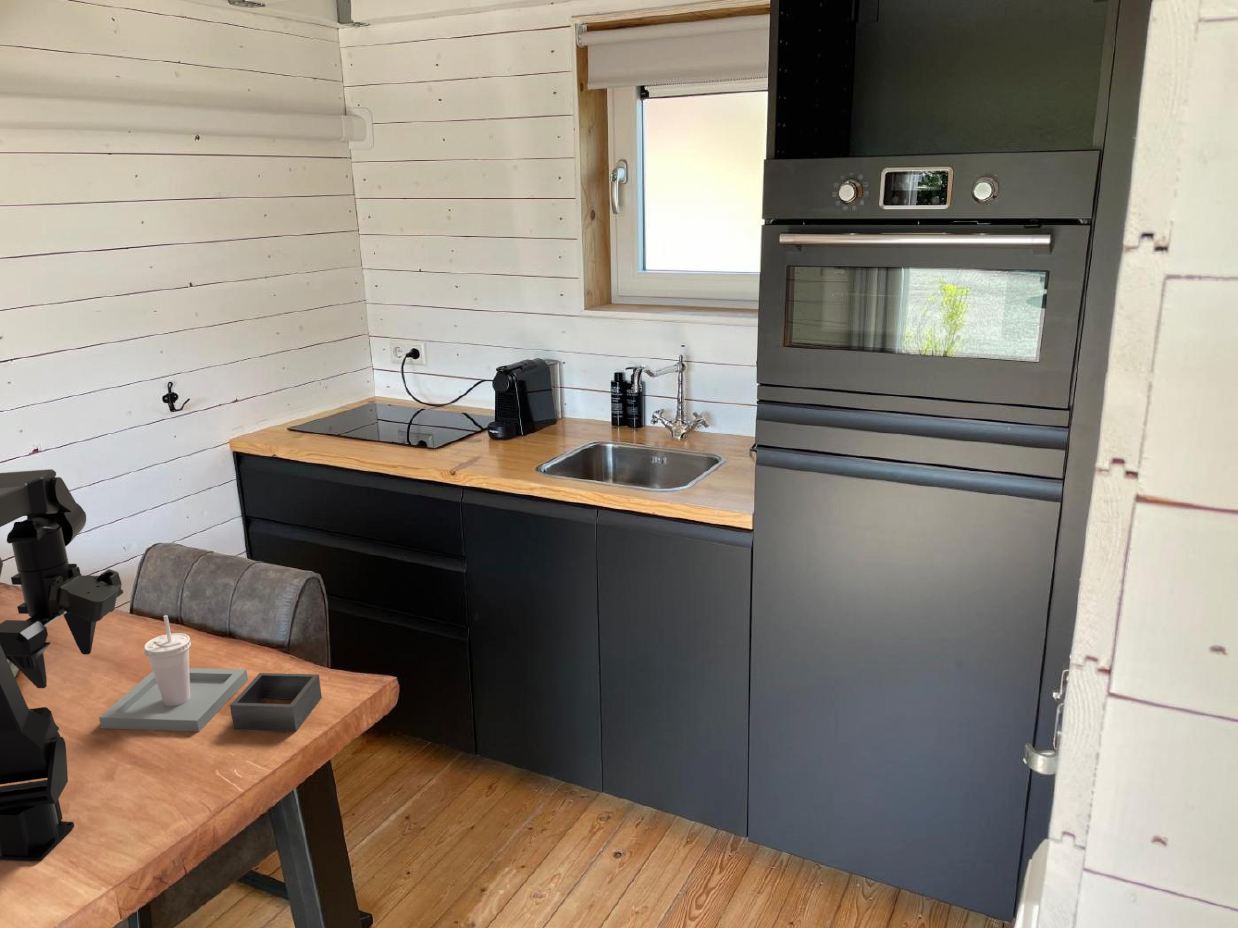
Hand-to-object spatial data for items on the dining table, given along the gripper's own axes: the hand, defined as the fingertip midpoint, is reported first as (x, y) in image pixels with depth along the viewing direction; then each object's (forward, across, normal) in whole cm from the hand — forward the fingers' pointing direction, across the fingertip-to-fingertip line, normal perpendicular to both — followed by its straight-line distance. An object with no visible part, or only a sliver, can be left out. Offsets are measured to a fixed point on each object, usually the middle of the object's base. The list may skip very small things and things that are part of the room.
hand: (65, 670), depth 126 cm
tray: (+13, +14, -6) cm, 20 cm away
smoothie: (+13, +14, -6) cm, 20 cm away
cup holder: (+13, +12, -23) cm, 29 cm away
